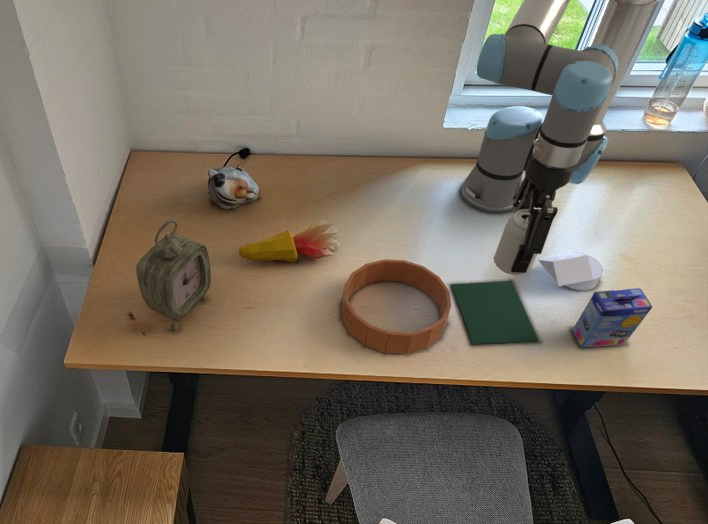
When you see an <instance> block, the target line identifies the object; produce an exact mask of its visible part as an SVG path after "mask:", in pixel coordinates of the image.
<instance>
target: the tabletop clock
mask: <svg viewBox="0 0 708 524" xmlns="http://www.w3.org/2000/svg"><path fill="white" fill-rule="evenodd" d="M173 223H174V228H173V230H172V231H171V232H170V234H169V233H168V234H165V235H164V237H162V238H161V239H160V240H159V237H160V235H161V233H162V232H163V231H164V229H165V228H167V227H168V226H169V225H170V224H173ZM177 229H178V222H177V220H176V219H169V220H167V221H165V222H164V223H163V224H162V225H161V226H160V227H159V228H158V230H157V231H156V234H155V237H154V245H153V246H152V247H150V249H149V250H147V252H146V253H145V254H144V255H143V256H142V257H141V258H140V259H139V260H138V263H137V264H136V267H135V268H136V270H135V273H136V279H137V284H138V289H139V291H140V294H141V298H142V299H143V301H144V302H145V304H146V306H147V308H149V309H150V310H151V311H153V312H156V313H157V314H160V315H162V316H164V317H166V318H168V319H169V320H171V321H172V324H171V327H170V329H171V330H172V331H173V332H175V331H178V330H179V325H178V323H177V322H179V321H181V320H183V319H184V318H185V317H186V316H188V314H189V313H190V312H191V311H192V310H193V309H194V308H195V307H196V306H197V305H198V304H199V302H200V301H205V300H207V295H206V294H207V292H208V291H209V289H210V287H211V281H212V279H211V278H212V271H211V261H210V257H209V251H208V248H207V247H206V245H205V244H202V243H200V242H198V241H196V240H192V239H190V238H188V237H185V236H183V235H180V234H178V233H177ZM158 240H159V241H158Z"/></svg>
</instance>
